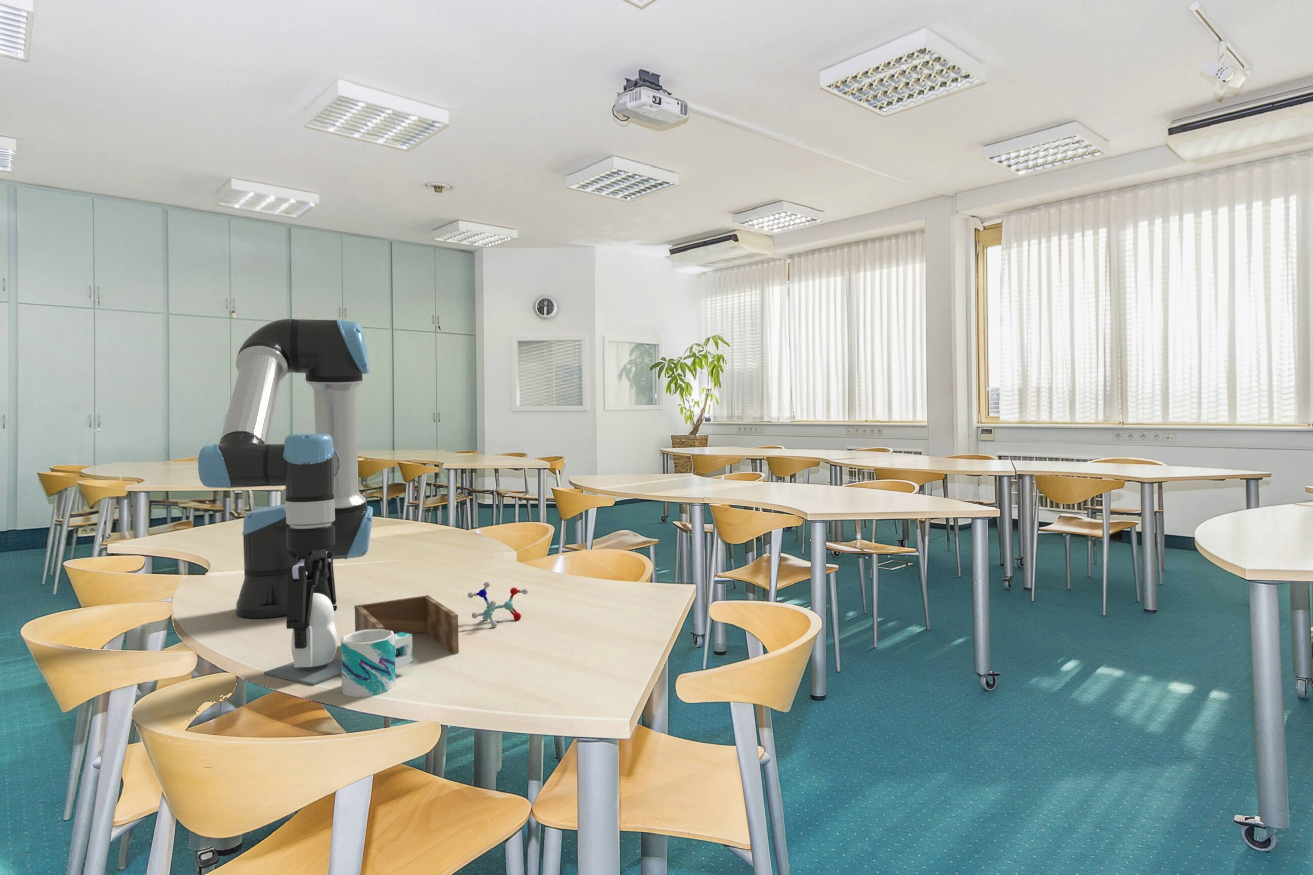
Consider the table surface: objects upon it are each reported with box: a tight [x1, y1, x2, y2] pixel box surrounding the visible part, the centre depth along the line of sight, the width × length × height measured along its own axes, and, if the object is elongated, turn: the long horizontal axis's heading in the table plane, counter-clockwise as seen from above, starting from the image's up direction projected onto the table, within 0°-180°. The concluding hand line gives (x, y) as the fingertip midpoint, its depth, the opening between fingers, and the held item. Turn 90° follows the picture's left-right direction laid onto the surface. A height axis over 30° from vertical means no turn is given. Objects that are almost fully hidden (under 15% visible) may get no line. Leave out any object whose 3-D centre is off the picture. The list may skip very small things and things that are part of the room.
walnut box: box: [354, 594, 460, 655], centre depth 139 cm, size 18×14×7 cm
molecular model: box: [467, 581, 529, 629], centre depth 156 cm, size 12×10×10 cm
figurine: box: [290, 593, 339, 667], centre depth 127 cm, size 7×8×12 cm
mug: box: [340, 629, 414, 698], centre depth 121 cm, size 8×12×8 cm
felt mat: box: [263, 657, 342, 686], centre depth 127 cm, size 12×10×1 cm
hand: (313, 657), depth 127 cm, fingers closed on figurine, 8 cm apart
